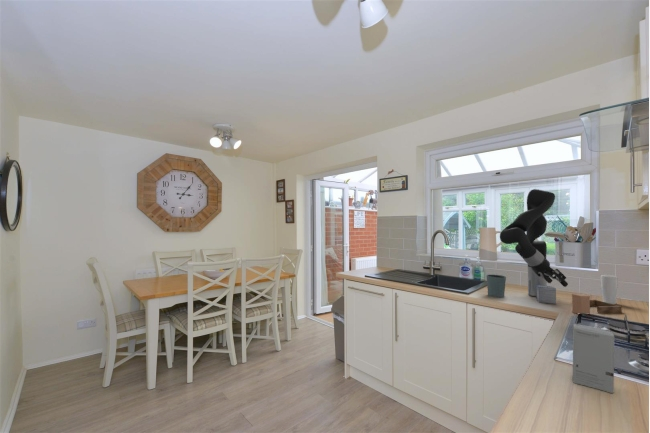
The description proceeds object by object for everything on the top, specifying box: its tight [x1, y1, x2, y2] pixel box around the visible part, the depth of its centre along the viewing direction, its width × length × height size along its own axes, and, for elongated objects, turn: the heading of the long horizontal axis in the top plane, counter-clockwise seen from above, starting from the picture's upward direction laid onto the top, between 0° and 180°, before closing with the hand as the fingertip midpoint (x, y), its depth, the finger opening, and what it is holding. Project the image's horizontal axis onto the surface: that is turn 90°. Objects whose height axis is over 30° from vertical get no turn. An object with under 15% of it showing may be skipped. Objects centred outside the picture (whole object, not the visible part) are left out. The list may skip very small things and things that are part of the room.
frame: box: [590, 299, 623, 314], centre depth 148 cm, size 12×13×3 cm
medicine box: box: [536, 285, 557, 305], centre depth 162 cm, size 8×4×9 cm, turn 65°
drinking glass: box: [600, 274, 619, 305], centre depth 160 cm, size 7×7×15 cm
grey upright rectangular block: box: [572, 323, 615, 394], centre depth 79 cm, size 8×6×15 cm
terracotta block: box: [571, 293, 591, 315], centre depth 141 cm, size 4×4×9 cm
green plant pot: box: [486, 274, 507, 298], centre depth 176 cm, size 10×10×12 cm
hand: (558, 283), depth 140 cm, fingers open, 8 cm apart
